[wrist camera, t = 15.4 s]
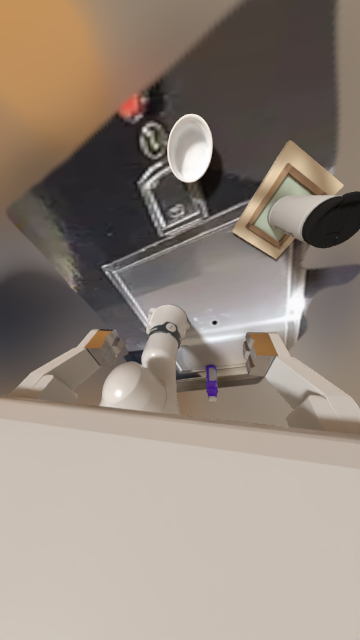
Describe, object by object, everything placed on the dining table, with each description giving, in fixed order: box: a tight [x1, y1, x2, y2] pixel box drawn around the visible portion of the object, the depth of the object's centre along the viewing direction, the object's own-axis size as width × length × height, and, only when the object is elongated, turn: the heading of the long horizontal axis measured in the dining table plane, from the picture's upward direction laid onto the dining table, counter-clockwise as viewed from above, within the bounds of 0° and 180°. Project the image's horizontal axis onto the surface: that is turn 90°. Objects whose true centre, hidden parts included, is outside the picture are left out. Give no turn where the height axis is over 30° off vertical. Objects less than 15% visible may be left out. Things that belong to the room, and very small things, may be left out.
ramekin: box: [167, 114, 213, 183], centre depth 30 cm, size 9×9×4 cm
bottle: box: [206, 365, 218, 402], centre depth 77 cm, size 7×6×17 cm
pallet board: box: [232, 140, 344, 259], centre depth 35 cm, size 17×15×2 cm
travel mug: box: [267, 191, 360, 248], centre depth 27 cm, size 6×7×20 cm
